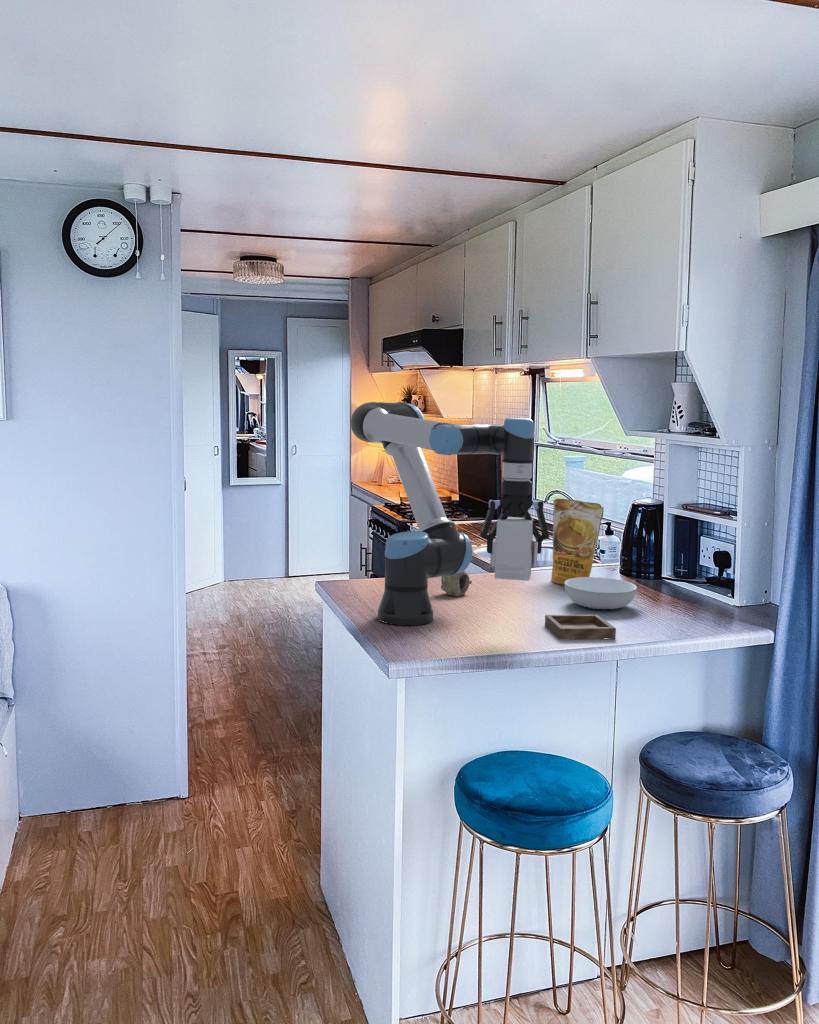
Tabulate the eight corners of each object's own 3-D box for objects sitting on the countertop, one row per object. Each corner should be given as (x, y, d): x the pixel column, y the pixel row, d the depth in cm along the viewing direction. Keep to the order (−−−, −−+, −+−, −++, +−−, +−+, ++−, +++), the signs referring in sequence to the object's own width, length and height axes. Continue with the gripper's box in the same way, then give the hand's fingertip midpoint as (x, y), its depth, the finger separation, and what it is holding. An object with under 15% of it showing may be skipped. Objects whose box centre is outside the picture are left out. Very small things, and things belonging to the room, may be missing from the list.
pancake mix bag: (556, 578, 295) (560, 497, 292) (601, 588, 280) (605, 503, 277) (543, 581, 291) (546, 498, 287) (587, 591, 276) (592, 504, 273)
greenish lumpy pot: (443, 603, 265) (433, 574, 263) (447, 593, 273) (437, 564, 271) (473, 596, 263) (463, 566, 260) (475, 586, 271) (466, 557, 268)
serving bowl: (554, 609, 250) (555, 586, 250) (575, 596, 269) (576, 574, 268) (625, 618, 241) (627, 594, 240) (643, 604, 259) (644, 581, 258)
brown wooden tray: (559, 639, 217) (560, 628, 217) (544, 625, 231) (545, 614, 231) (615, 639, 219) (615, 628, 218) (597, 624, 233) (597, 614, 233)
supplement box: (529, 581, 216) (532, 522, 214) (493, 579, 218) (496, 520, 216) (531, 574, 225) (534, 517, 223) (497, 572, 227) (499, 515, 225)
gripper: (475, 480, 213) (472, 568, 216) (564, 481, 216) (560, 569, 219) (470, 477, 221) (467, 563, 224) (556, 478, 223) (552, 563, 226)
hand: (513, 566), depth 221 cm, fingers closed on supplement box, 10 cm apart
